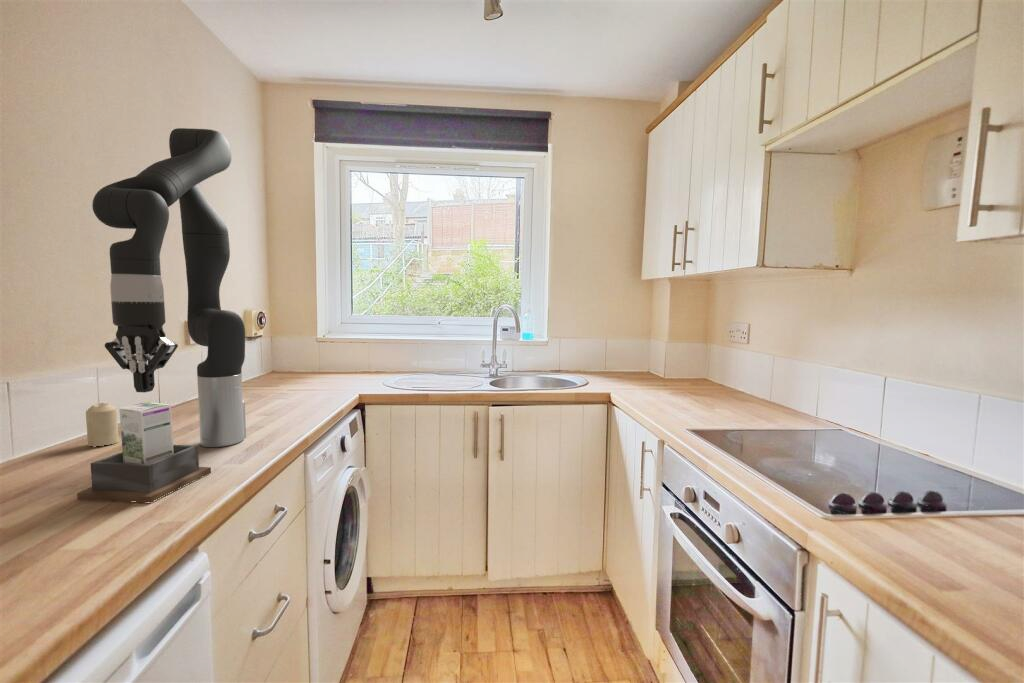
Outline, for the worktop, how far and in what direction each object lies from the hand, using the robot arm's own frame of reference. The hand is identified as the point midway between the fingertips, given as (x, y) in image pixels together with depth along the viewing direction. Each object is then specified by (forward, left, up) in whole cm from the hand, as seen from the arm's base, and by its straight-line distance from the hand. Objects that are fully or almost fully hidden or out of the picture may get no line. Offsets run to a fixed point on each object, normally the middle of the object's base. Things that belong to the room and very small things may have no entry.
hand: (144, 391), depth 83 cm
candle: (-21, -32, -19) cm, 43 cm away
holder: (0, 0, -18) cm, 18 cm away
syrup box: (0, 0, -17) cm, 17 cm away
